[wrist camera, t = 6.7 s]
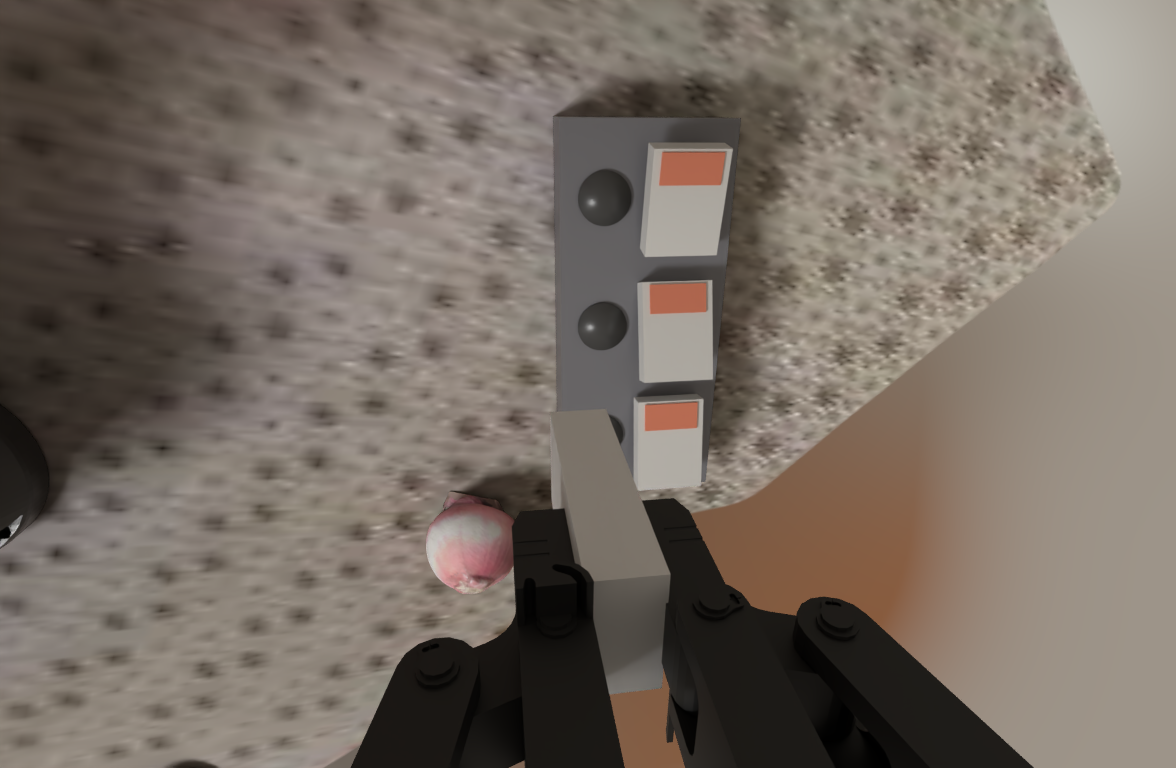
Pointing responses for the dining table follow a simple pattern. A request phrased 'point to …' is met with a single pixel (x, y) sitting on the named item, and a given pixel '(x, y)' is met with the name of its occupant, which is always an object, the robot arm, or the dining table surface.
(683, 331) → the rocker
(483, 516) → the onion
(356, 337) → the dining table surface
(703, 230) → the rocker
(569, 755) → the robot arm
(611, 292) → the switch panel
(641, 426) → the rocker
